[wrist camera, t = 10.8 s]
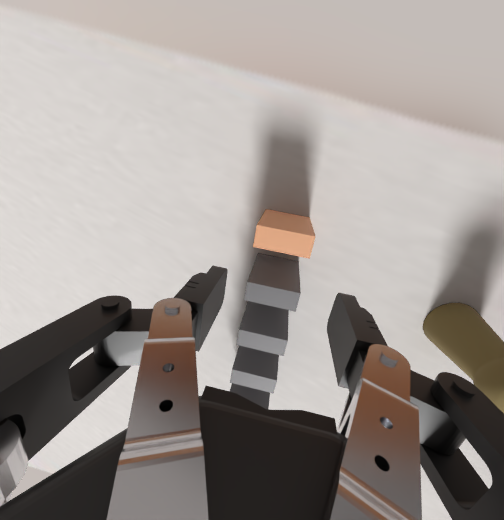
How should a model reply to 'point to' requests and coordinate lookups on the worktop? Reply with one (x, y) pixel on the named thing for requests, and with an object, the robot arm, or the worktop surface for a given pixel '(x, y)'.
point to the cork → (469, 346)
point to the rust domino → (285, 233)
